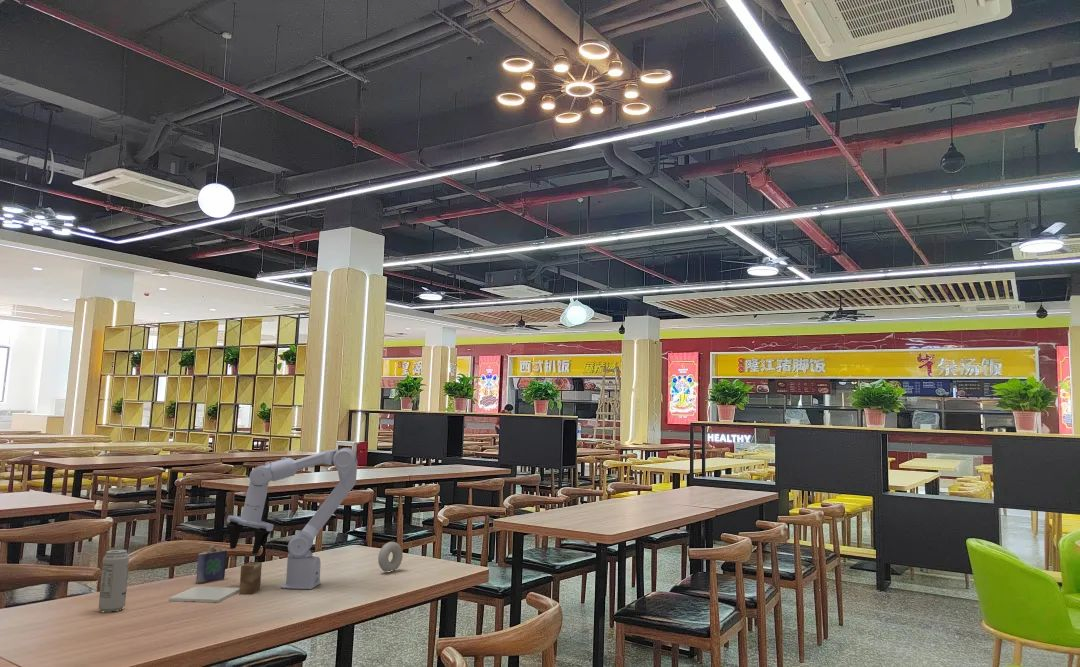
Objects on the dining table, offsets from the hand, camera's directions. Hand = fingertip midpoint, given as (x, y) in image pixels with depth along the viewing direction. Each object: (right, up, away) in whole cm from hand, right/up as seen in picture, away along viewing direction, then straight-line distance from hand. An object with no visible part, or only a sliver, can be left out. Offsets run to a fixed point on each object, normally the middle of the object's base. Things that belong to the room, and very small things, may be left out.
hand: (243, 550), depth 219 cm
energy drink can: (-23, -7, -29) cm, 38 cm away
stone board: (-6, -9, -12) cm, 16 cm away
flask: (-13, -11, +6) cm, 18 cm away
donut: (+39, -15, +24) cm, 48 cm away
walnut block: (+4, -10, -7) cm, 13 cm away
